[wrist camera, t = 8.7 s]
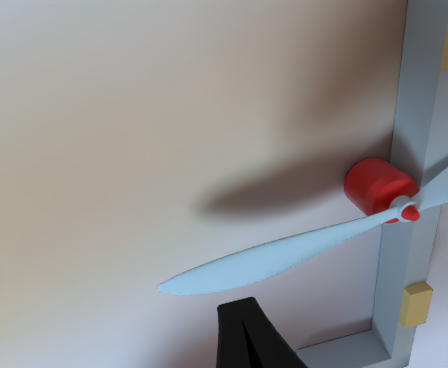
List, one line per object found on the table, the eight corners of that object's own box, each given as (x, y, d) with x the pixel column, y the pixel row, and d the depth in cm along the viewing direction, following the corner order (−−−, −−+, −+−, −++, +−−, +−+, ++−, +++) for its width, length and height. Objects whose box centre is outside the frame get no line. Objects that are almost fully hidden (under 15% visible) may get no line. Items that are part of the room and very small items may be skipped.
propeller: (554, 149, 20) (641, 177, 16) (170, 271, 19) (171, 329, 15) (571, 82, 18) (676, 96, 14) (144, 214, 17) (139, 265, 13)
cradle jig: (386, 337, 26) (413, 373, 23) (296, 362, 25) (313, 402, 22) (462, -176, 12) (551, -236, 9) (269, -157, 11) (304, -216, 9)
